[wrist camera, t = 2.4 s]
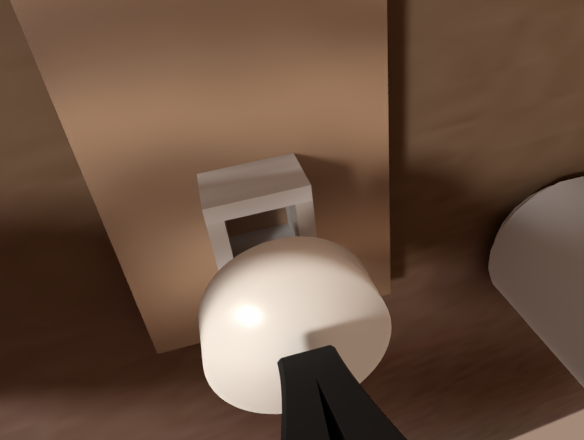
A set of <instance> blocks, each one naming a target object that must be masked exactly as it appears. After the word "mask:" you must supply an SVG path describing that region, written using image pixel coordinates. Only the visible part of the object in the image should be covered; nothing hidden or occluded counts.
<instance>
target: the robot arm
mask: <svg viewBox="0 0 584 440" xmlns="http://www.w3.org/2000/svg"><path fill="white" fill-rule="evenodd" d="M277 364H278V369H279V374H280V382H281V396H282V426H281V440H407V439H406V438H405V437H404V436H403V435H402V434H401V432H400V431H399V430H398V429H397V428H396V427H395V426H394V425H393V424H392V422H391V421H390V420H389V419H388V418H387V417H386V415H385V414H384V413H383V412H382V411H381V410H380V408H379V407H378V406H377V405H376V404H375V403H374V401H373V400H372V399H371V398H370V396H369V395H368V394H367V393H366V391H365V390H364V389H363V388H362V386H361V385H360V384H359V382H358V381H357V380H356V378H355V377H354V376H353V374H352V373H351V371H350V370H349V369H348V367H347V366H346V364H345V363H344V361H343V360H342V358H341V357H340V355H339V353H338V352H337V350H336V348H335V347H334V346H332V345H328V346H324V347H320V348H316V349H313V350H309V351H305V352H301V353H298V354H294V355H290V356H286V357H283V358H281V359H280V360H279V361H278V362H277Z"/></svg>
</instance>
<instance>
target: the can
mask: <svg viewBox="0 0 584 440" xmlns="http://www.w3.org/2000/svg"><path fill="white" fill-rule="evenodd" d="M488 270H489V274H490V277H491V281H492V284H493V285H494V286H495V287H496V288H497V289H498V290H499V292H500V293H501V294H502V295H503V296H504V297H505V298H506V300H507V301H508V302H509V303H510V304H511V305H512V306H513V308H514V309H515V310H516V311H517V312H518V313H519V314H520V316H521V317H522V318H523V319H524V320H525V321H526V322H527V324H528V325H529V326H530V327H531V328H532V329H533V330H534V332H535V333H536V334H537V335H538V336H539V337H540V338H541V340H542V341H543V342H544V343H545V344H546V345H547V346H548V347H549V349H550V350H551V351H552V352H553V353H554V354H555V355H556V357H557V358H558V359H559V360H560V361H561V362H562V363H563V365H564V366H565V367H566V368H567V369H568V370H569V371H570V373H571V374H572V375H573V376H574V377H575V378H576V379H577V381H578V382H579V383H580V384H581V385H582V386H583V387H584V176H582V177H578V178H574V179H570V180H566V181H561V182H559V183H557V184H555V185H552V186H548V187H546V188H544V189H542V190H540V191H538V192H536V193H534V194H532V195H530V196H529V197H528V198H526V199H525V200H524V201H523V202H521V203H520V204H519V205H518V206H517V207H515V208H514V209H513V211H512V212H511V213H510V214H509V215H508V217H507V218H506V219H505V220H504V222H503V223H502V225H501V227H500V229H499V231H498V233H497V235H496V237H495V242H494V244H493V246H492V248H491V251H490V258H489V266H488Z"/></svg>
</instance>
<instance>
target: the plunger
mask: <svg viewBox="0 0 584 440" xmlns="http://www.w3.org/2000/svg"><path fill="white" fill-rule="evenodd" d="M198 318H199V331H200V341H201V351H202V361H203V369H204V374H205V377H206V379H207V381H208V384H209V385H210V387H211V388H212V389H213V391H214V392H215V393H216V394H217V395H218V396H219V397H220V398H222V399H223V400H225V401H226V402H227V403H229V404H231V405H233V406H235V407H237V408H240V409H243V410H246V411H251V412H255V413H263V414H282V396H281V382H280V374H279V369H278V364H277V362H278V361H279V360H280V359H281V358H283V357H286V356H290V355H294V354H298V353H301V352H305V351H309V350H313V349H316V348H320V347H324V346H328V345H332V346H334V347H335V348H336V350H337V352H338V353H339V355H340V357H341V358H342V360H343V361H344V363H345V364H346V366H347V367H348V369H349V370H350V371H351V373H352V374H353V376H354V377H355V378H356V380H357V381H358V382H359V384H360V383H361V382H362V381H363V380H364V379H365V378H367V377H368V376H369V374H370V373H371V372H372V371H373V370H374V369H375V368H376V366H377V365H378V364H379V362H380V361H381V359H382V357H383V356H384V354H385V352H386V350H387V347H388V345H389V341H390V337H391V327H392V326H391V318H390V314H389V311H388V309H387V307H386V305H385V303H384V301H383V299H382V298H381V296H380V294H379V292H378V291H377V289H376V287H375V285H374V283H373V282H372V280H371V278H370V276H369V275H368V273H367V271H366V269H365V268H364V266H363V264H362V263H361V262H360V260H359V259H358V258H357V257H356V256H355V255H354V254H353V253H352V252H351V251H349V250H348V249H346V248H345V247H343V246H341V245H339V244H337V243H335V242H332V241H329V240H326V239H322V238H316V237H304V236H297V237H286V238H280V239H275V240H266V241H264V242H261V243H260V244H258V245H257V246H254V247H252V248H250V249H248V250H246V251H244V252H242V253H240V254H239V255H237V256H236V257H235V258H233V259H232V260H230V261H229V262H228V263H227V264H226V265H224V266H223V267H222V268H221V269H220V270H219V271H218V272H217V273H216V275H215V276H214V277H213V278H212V280H211V281H210V283H209V284H208V286H207V287H206V289H205V291H204V293H203V295H202V299H201V302H200V305H199V313H198Z"/></svg>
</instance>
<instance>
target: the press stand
mask: <svg viewBox="0 0 584 440" xmlns="http://www.w3.org/2000/svg"><path fill="white" fill-rule="evenodd" d="M10 1H11V4H12V6H13V8H14V11H15V13H16V16H17V18H18V20H19V23H20V25H21V28H22V30H23V32H24V35H25V37H26V40H27V42H28V44H29V47H30V49H31V52H32V54H33V56H34V59H35V61H36V64H37V66H38V68H39V71H40V73H41V76H42V78H43V80H44V83H45V85H46V88H47V90H48V92H49V95H50V97H51V100H52V102H53V104H54V107H55V109H56V112H57V114H58V116H59V119H60V121H61V124H62V126H63V128H64V131H65V133H66V136H67V138H68V140H69V143H70V145H71V148H72V150H73V152H74V155H75V157H76V160H77V162H78V164H79V167H80V169H81V172H82V174H83V176H84V179H85V181H86V184H87V186H88V188H89V191H90V193H91V196H92V198H93V200H94V203H95V205H96V208H97V210H98V212H99V215H100V217H101V220H102V222H103V224H104V227H105V229H106V232H107V234H108V236H109V239H110V241H111V244H112V246H113V248H114V251H115V253H116V256H117V258H118V260H119V263H120V265H121V268H122V270H123V272H124V275H125V277H126V280H127V282H128V284H129V287H130V289H131V292H132V294H133V296H134V299H135V301H136V304H137V306H138V308H139V311H140V313H141V316H142V318H143V320H144V323H145V325H146V328H147V330H148V332H149V335H150V337H151V340H152V342H153V344H154V347H155V349H156V352H157V354H160V353H164V352H168V351H172V350H176V349H179V348H183V347H187V346H191V345H195V344H199V343H201V341H200V331H199V318H198V313H199V305H200V302H201V299H202V295H203V293H204V291H205V289H206V287H207V286H208V284H209V283H210V281H211V280H212V278H213V277H214V276H215V275H216V273H217V272H218V271H219V270H220V269H221V268H222V267H223V266H224V265H226V264H227V263H228V262H229V261H230V260H232V259H233V258H235V257H236V256H237V255H239V254H240V253H242V252H244V251H246V250H248V249H250V248H252V247H254V246H257V245H258V244H260V243H261V242H264V241H266V240H275V239H280V238H286V237H297V236H304V237H316V238H322V239H326V240H329V241H332V242H335V243H337V244H339V245H341V246H343V247H345V248H346V249H348V250H349V251H351V252H352V253H353V254H354V255H355V256H356V257H357V258H358V259H359V260H360V262H361V263H362V264H363V266H364V268H365V269H366V271H367V273H368V275H369V276H370V278H371V280H372V282H373V283H374V285H375V287H376V289H377V291H378V292H379V294H380V296H384V295H388V294H391V282H390V202H389V122H388V42H387V0H10Z"/></svg>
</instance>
